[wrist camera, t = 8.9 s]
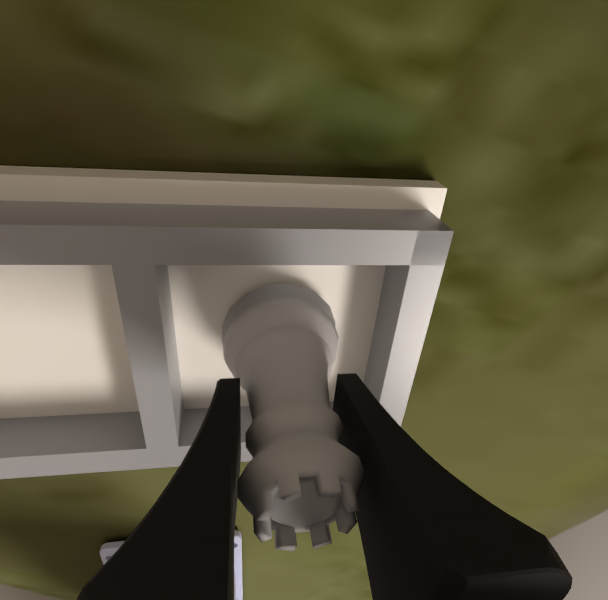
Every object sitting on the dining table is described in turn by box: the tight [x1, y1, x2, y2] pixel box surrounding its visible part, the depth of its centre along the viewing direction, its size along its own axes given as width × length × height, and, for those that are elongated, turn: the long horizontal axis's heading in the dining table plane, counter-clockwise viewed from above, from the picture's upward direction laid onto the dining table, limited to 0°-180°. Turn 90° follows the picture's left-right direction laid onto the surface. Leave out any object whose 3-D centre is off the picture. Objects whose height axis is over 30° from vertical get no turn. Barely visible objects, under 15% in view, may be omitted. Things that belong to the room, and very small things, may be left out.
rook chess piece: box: [222, 284, 365, 551], centre depth 13 cm, size 4×4×8 cm
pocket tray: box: [0, 165, 454, 479], centre depth 15 cm, size 12×21×3 cm, turn 86°
